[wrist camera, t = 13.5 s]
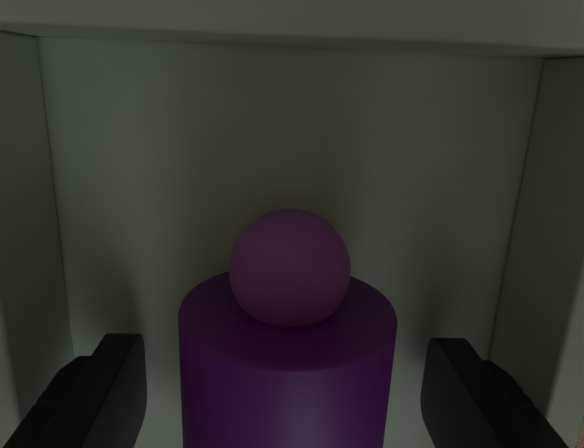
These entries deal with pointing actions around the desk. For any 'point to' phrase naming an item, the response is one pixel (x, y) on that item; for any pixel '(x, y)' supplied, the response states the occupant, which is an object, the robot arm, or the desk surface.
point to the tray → (294, 178)
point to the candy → (286, 344)
